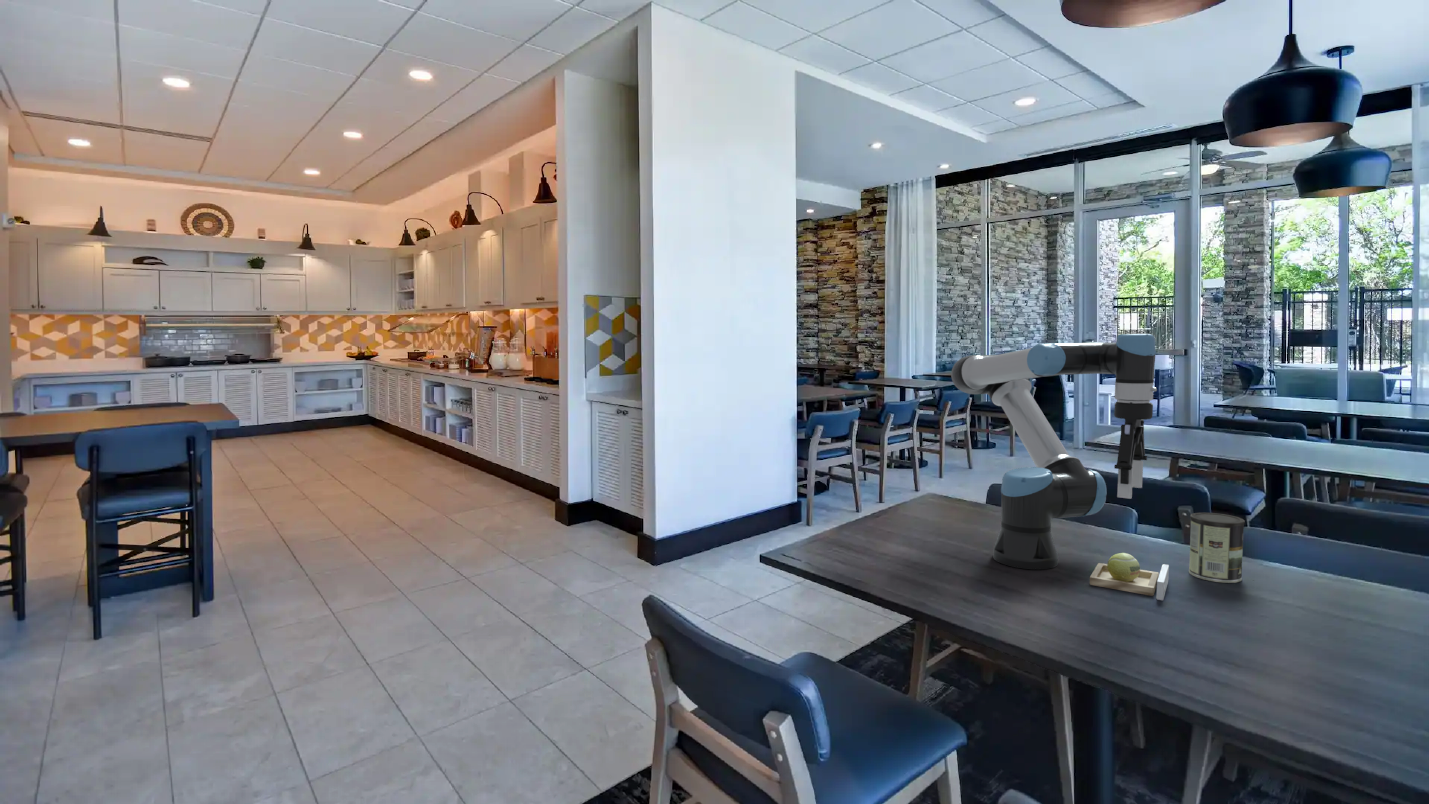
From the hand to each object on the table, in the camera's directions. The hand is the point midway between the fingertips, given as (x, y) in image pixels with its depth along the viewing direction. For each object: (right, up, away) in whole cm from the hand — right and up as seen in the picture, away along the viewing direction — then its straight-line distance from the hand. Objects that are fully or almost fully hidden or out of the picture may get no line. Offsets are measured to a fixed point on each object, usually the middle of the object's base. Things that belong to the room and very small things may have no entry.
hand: (1130, 492), depth 158 cm
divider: (+4, -21, -5) cm, 22 cm away
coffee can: (+22, -20, +3) cm, 30 cm away
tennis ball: (-2, -20, 0) cm, 20 cm away
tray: (-1, -21, 0) cm, 21 cm away
